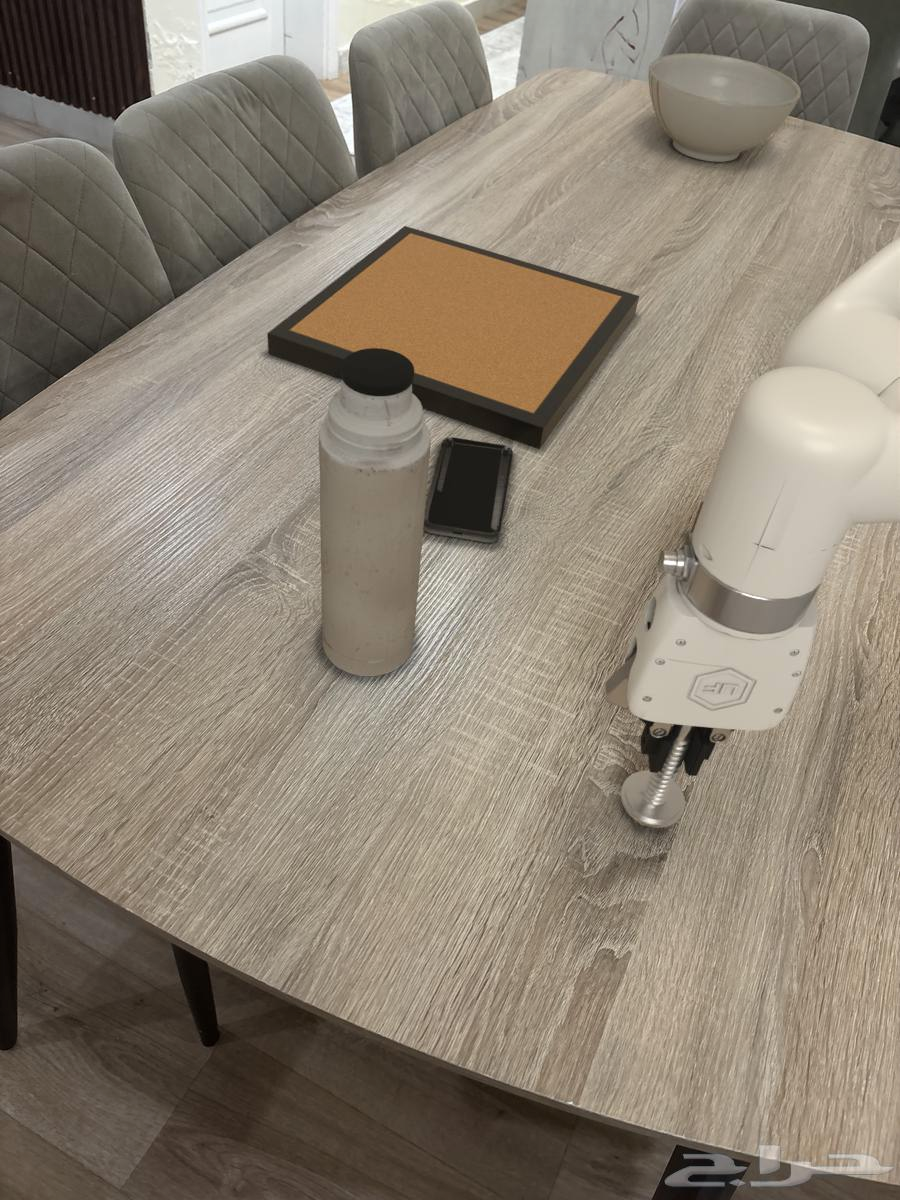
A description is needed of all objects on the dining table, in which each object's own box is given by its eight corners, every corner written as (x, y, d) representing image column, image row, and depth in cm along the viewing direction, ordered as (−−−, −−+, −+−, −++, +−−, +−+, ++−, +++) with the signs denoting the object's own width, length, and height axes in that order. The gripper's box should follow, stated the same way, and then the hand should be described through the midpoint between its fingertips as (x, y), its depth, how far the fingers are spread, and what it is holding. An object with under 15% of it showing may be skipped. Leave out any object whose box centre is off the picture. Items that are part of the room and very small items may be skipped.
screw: (686, 803, 74) (665, 850, 71) (629, 775, 75) (606, 820, 72) (734, 701, 64) (712, 751, 61) (668, 671, 66) (643, 719, 63)
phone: (513, 446, 102) (499, 536, 92) (512, 455, 103) (497, 545, 93) (442, 435, 103) (420, 523, 92) (441, 444, 104) (419, 532, 93)
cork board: (403, 244, 136) (268, 354, 113) (404, 225, 134) (267, 332, 111) (634, 315, 128) (539, 449, 105) (639, 295, 126) (543, 428, 103)
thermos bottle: (319, 611, 85) (312, 333, 65) (406, 606, 86) (427, 331, 66) (326, 680, 79) (321, 399, 59) (419, 673, 81) (446, 396, 61)
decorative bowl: (604, 138, 173) (618, 66, 165) (691, 112, 187) (708, 45, 179) (722, 190, 161) (744, 115, 152) (806, 159, 175) (830, 89, 166)
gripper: (616, 610, 51) (562, 792, 65) (901, 636, 52) (789, 812, 65) (607, 520, 57) (559, 706, 70) (867, 544, 57) (770, 725, 70)
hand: (670, 756), depth 67 cm, fingers closed on screw, 2 cm apart
